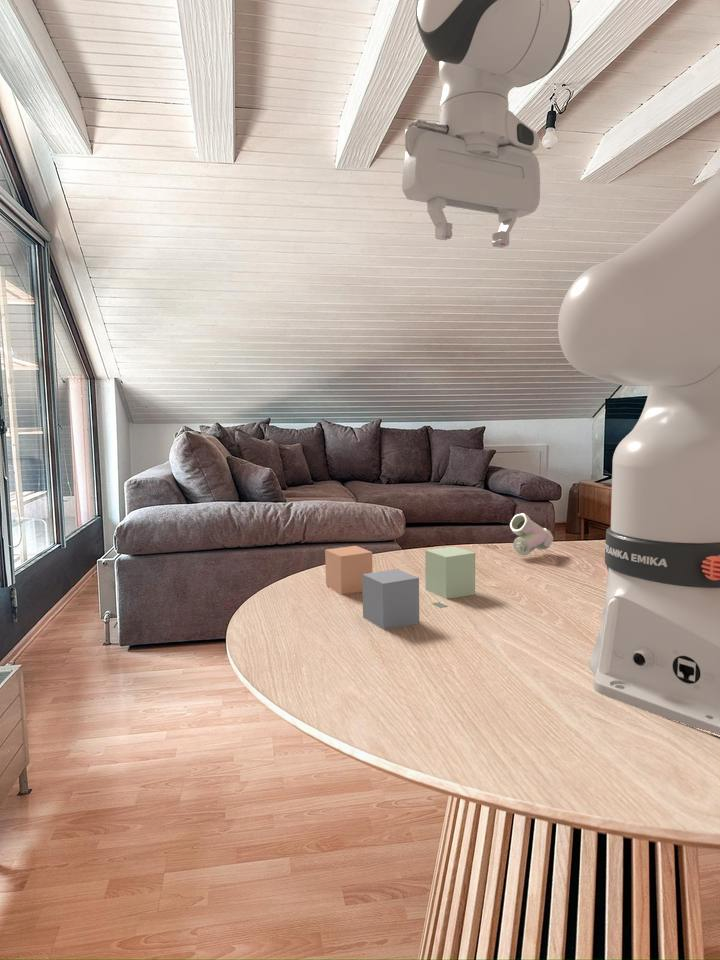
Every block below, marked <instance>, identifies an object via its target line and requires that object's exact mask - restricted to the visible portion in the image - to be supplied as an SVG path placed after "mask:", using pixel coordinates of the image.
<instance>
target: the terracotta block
mask: <svg viewBox="0 0 720 960" xmlns="http://www.w3.org/2000/svg"><path fill="white" fill-rule="evenodd" d="M324 556H325V558H324V559H325V560H324V561H325V586H326V585H327V586H329V587H330V588H329V587H328V588H329V589H331V588H332V589H331V590H332V591H334V590H335V592H336V593H338V594H340V595H347V594H348V595H349V594H354V593H361V592H362V593H363V579H362V574H367V573H373V551H370V550H368V549H366V548H362V547H360V546H358V545H351V546H343V547H342V546H341V547H336V548H327V549H325V550H324ZM327 586H326V587H327Z"/></svg>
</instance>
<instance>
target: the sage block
mask: <svg viewBox="0 0 720 960" xmlns="http://www.w3.org/2000/svg"><path fill="white" fill-rule="evenodd" d="M424 554H425V556H424V557H425V560H424V561H425V562H424V566H425V572H424V574H425V579H424V580H425V581H424V582H425V584H424V585H425V587H424V588H425V590H426V591H427V592H429V593H431V594H434V595H436V596H439V597H441V598H444V599H446V600H447V599H448V600H449V599H453V598H459V597H460V598H461V597H467V596H472V595H473V596H474V595H476V552H473V551H471V550H467V549H464V548H461V547H457V546H447V547H446V546H445V547H439V548H438V547H437V548H432V549H426V550H425V551H424Z"/></svg>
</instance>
